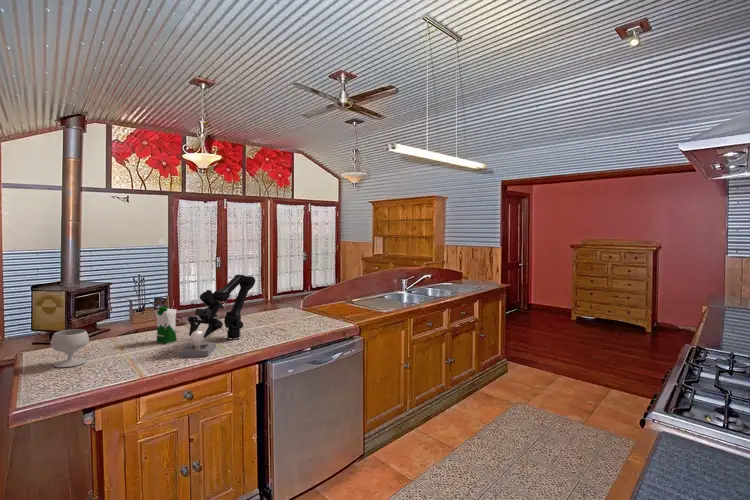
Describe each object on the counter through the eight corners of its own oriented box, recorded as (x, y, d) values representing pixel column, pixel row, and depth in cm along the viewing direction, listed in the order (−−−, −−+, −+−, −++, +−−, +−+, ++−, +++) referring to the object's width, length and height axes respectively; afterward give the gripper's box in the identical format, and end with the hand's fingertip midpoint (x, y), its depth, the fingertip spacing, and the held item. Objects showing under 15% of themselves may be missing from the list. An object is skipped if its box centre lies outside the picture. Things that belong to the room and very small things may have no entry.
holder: (216, 348, 205) (216, 342, 205) (208, 356, 191) (208, 350, 191) (188, 348, 203) (188, 343, 203) (178, 357, 190) (178, 351, 189)
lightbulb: (189, 350, 199) (189, 329, 198) (203, 349, 202) (203, 328, 201) (191, 354, 193) (191, 332, 193) (204, 352, 196) (204, 331, 196)
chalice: (69, 370, 171) (68, 337, 170) (43, 367, 173) (42, 335, 173) (96, 359, 185) (96, 329, 184) (72, 357, 187) (71, 327, 186)
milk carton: (153, 342, 213) (153, 307, 212) (167, 338, 222) (167, 304, 221) (166, 344, 211) (165, 308, 210) (179, 340, 219) (178, 305, 218)
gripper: (189, 301, 203) (173, 326, 193) (218, 303, 198) (203, 329, 188) (200, 312, 211) (185, 337, 201) (229, 315, 205) (214, 341, 196)
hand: (196, 336), depth 196 cm, fingers open, 9 cm apart
